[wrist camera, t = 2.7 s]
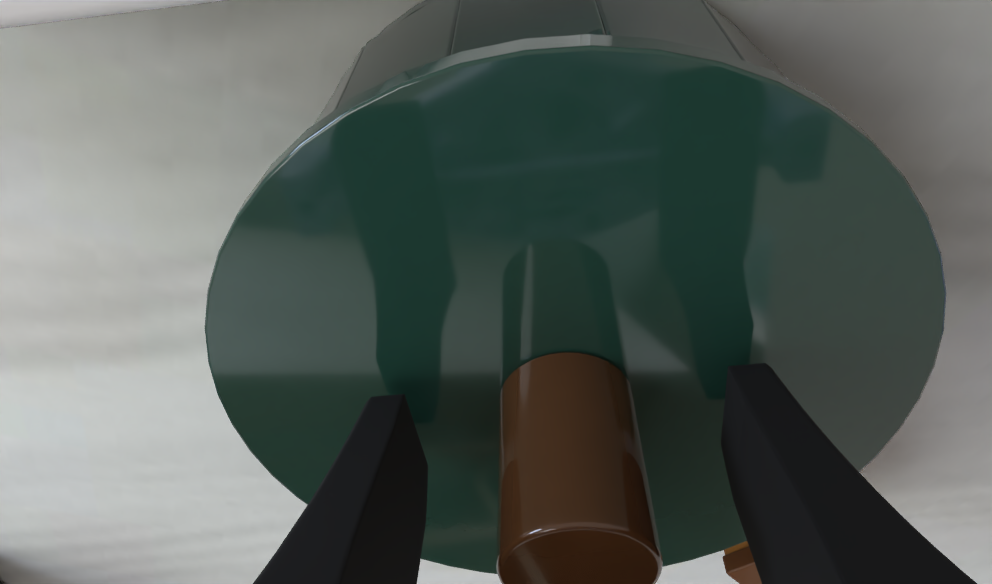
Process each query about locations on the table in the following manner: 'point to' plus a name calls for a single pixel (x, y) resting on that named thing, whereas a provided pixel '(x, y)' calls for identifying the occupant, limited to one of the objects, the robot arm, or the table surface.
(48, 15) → the mooring cleat
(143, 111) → the table surface
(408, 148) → the lid
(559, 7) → the pot
